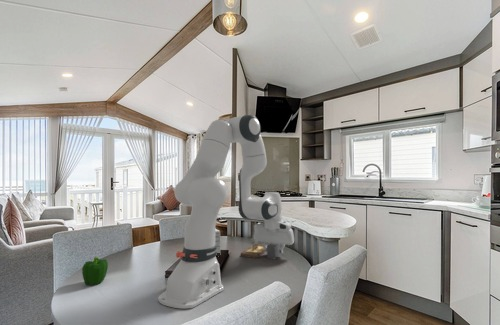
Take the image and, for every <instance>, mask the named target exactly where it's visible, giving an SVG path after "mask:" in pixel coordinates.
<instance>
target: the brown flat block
mask: <svg viewBox="0 0 500 325" xmlns="http://www.w3.org/2000/svg"><path fill="white" fill-rule="evenodd" d="M264 253H266V252H265V248H264V246H263V245H260V244H259V242H255V240H254V241H252V243H251V245H250V246H249V247H247V248H246V249H245V250H242V251H241V252H240V257H245V258H247V257H248V258H254V259H258V258H259V257H260V256H261V255H263V254H264Z"/></svg>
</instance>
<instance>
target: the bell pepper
mask: <svg viewBox="0 0 500 325" xmlns="http://www.w3.org/2000/svg"><path fill="white" fill-rule="evenodd" d="M108 263H109V262H108V260H107V259H106V258H104V259H102V258H101V259H100V258H99V257H98V256H95V257H94V259H93V261H90V260H87V261H86V262H85V263H84V264H83V266H82V268H81V270H82V279H83V282H84V284H85V285H89V286H90V285H91V286H95V285H96V286H97V285H99V284H101V283H102V282H103V281H104V280H105V278H106V276H107V272H108V266H109V264H108Z"/></svg>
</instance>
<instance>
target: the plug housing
mask: <svg viewBox="0 0 500 325" xmlns="http://www.w3.org/2000/svg"><path fill="white" fill-rule="evenodd" d="M281 248H282V247H281V244H275V243H268V245H267V252H266V258H267V259H274V260H276V259H277V258H278V257H279V256H280V255H281V254H282V253H279V252H280V251H279V249H281Z"/></svg>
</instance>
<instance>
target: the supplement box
mask: <svg viewBox="0 0 500 325" xmlns="http://www.w3.org/2000/svg"><path fill="white" fill-rule="evenodd" d="M215 244H216V245H217V253H220V254H221V231H220V230H219V229H217V228H215Z"/></svg>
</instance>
